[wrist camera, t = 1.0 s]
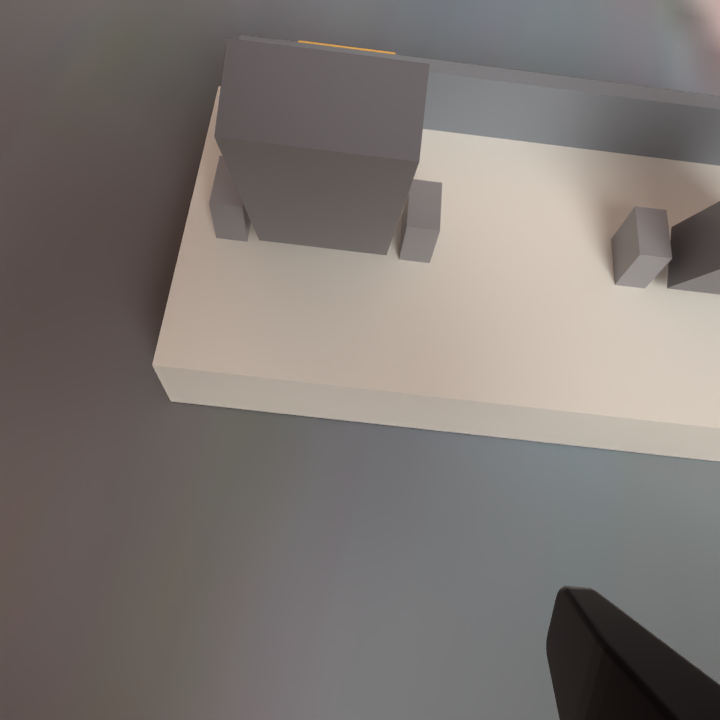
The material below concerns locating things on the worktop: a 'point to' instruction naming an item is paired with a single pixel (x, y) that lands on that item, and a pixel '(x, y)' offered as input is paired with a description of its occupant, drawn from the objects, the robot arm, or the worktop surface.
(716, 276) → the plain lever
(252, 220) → the grey rectangular carton
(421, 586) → the worktop surface
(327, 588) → the worktop surface
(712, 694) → the robot arm
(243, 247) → the switch panel
